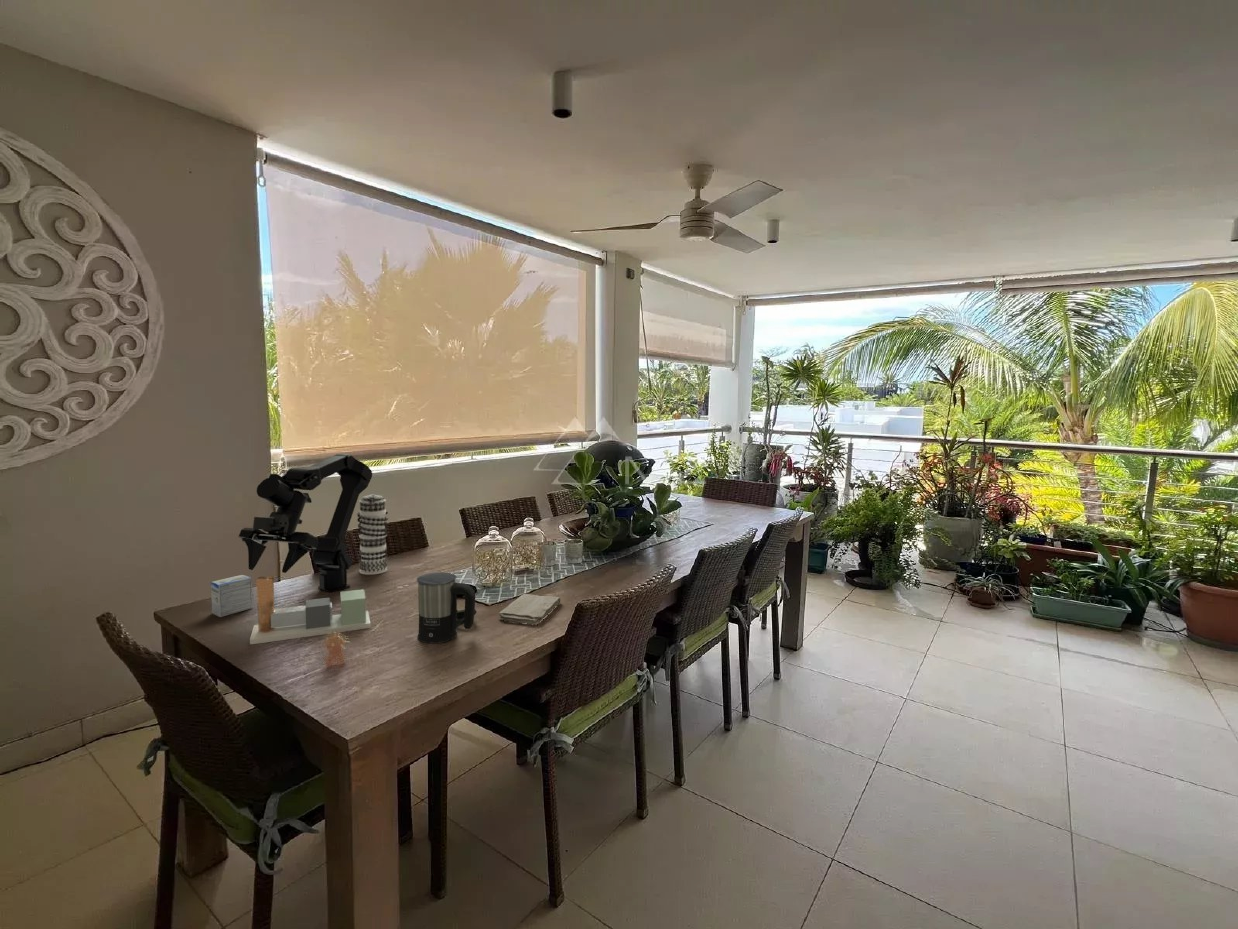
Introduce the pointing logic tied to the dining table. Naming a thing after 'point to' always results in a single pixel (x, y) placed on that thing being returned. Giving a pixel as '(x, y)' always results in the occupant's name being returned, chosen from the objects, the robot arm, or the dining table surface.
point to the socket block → (353, 607)
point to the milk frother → (443, 607)
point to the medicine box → (231, 595)
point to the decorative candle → (372, 535)
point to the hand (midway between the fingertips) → (267, 571)
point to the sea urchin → (335, 648)
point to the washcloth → (529, 609)
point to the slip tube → (276, 617)
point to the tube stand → (309, 624)
